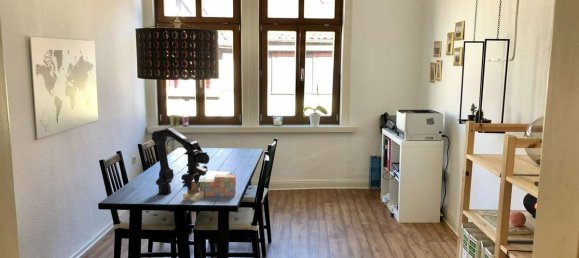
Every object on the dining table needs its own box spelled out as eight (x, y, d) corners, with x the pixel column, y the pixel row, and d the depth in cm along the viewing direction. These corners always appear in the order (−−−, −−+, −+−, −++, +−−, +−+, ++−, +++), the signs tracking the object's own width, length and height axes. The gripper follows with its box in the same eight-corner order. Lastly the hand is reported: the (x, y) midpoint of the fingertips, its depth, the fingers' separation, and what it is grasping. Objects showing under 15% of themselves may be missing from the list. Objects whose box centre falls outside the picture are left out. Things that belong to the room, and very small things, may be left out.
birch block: (183, 200, 268) (183, 194, 267) (190, 196, 276) (190, 189, 276) (197, 201, 265) (196, 195, 265) (203, 197, 274) (203, 191, 273)
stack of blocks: (199, 196, 275) (199, 177, 273) (201, 193, 281) (201, 174, 279) (234, 196, 275) (234, 177, 273) (236, 193, 281) (235, 174, 279)
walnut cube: (195, 194, 267) (194, 184, 266) (187, 193, 268) (187, 183, 267) (198, 191, 272) (198, 182, 271) (191, 191, 273) (191, 181, 272)
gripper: (198, 166, 257) (199, 193, 259) (211, 159, 274) (212, 184, 277) (180, 165, 259) (181, 191, 262) (194, 158, 277) (195, 183, 279)
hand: (193, 187), depth 270 cm, fingers open, 9 cm apart
